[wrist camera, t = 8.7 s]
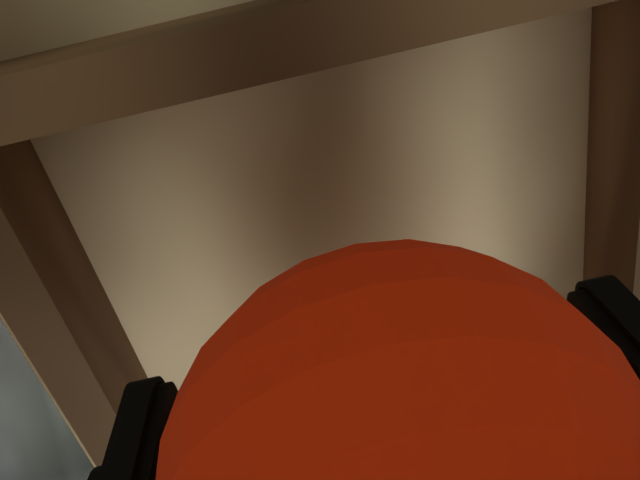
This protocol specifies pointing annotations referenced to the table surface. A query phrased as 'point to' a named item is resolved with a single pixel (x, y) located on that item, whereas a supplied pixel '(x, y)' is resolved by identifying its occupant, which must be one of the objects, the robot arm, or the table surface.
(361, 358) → the clementine
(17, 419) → the table surface
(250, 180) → the board
